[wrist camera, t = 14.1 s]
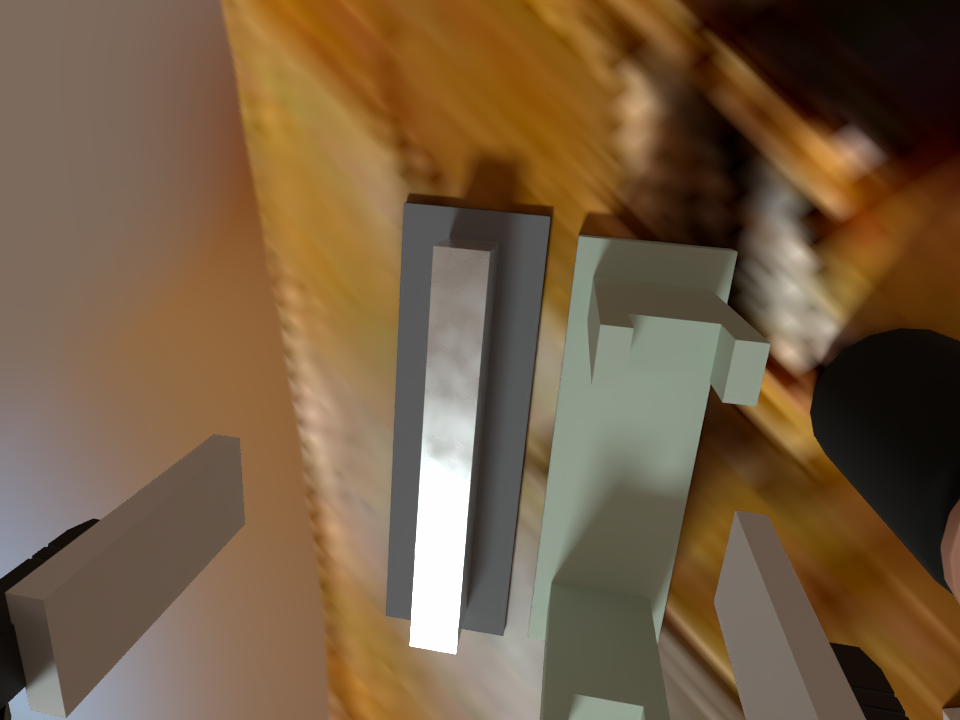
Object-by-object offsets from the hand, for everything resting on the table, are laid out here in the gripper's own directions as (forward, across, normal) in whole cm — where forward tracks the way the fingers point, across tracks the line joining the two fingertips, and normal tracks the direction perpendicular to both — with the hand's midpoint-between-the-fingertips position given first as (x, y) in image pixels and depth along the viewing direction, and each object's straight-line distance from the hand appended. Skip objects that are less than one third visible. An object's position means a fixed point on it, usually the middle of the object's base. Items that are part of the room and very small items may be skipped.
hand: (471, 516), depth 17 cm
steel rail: (+28, -5, -12) cm, 31 cm away
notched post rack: (+29, +7, -12) cm, 32 cm away
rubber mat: (+29, -5, -12) cm, 32 cm away
